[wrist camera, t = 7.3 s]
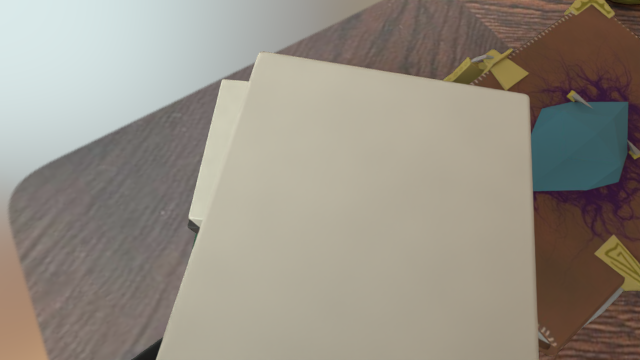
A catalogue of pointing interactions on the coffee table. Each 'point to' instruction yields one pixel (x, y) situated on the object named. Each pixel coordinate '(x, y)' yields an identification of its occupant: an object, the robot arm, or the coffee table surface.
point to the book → (577, 160)
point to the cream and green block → (216, 147)
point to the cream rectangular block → (364, 223)
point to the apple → (627, 1)
